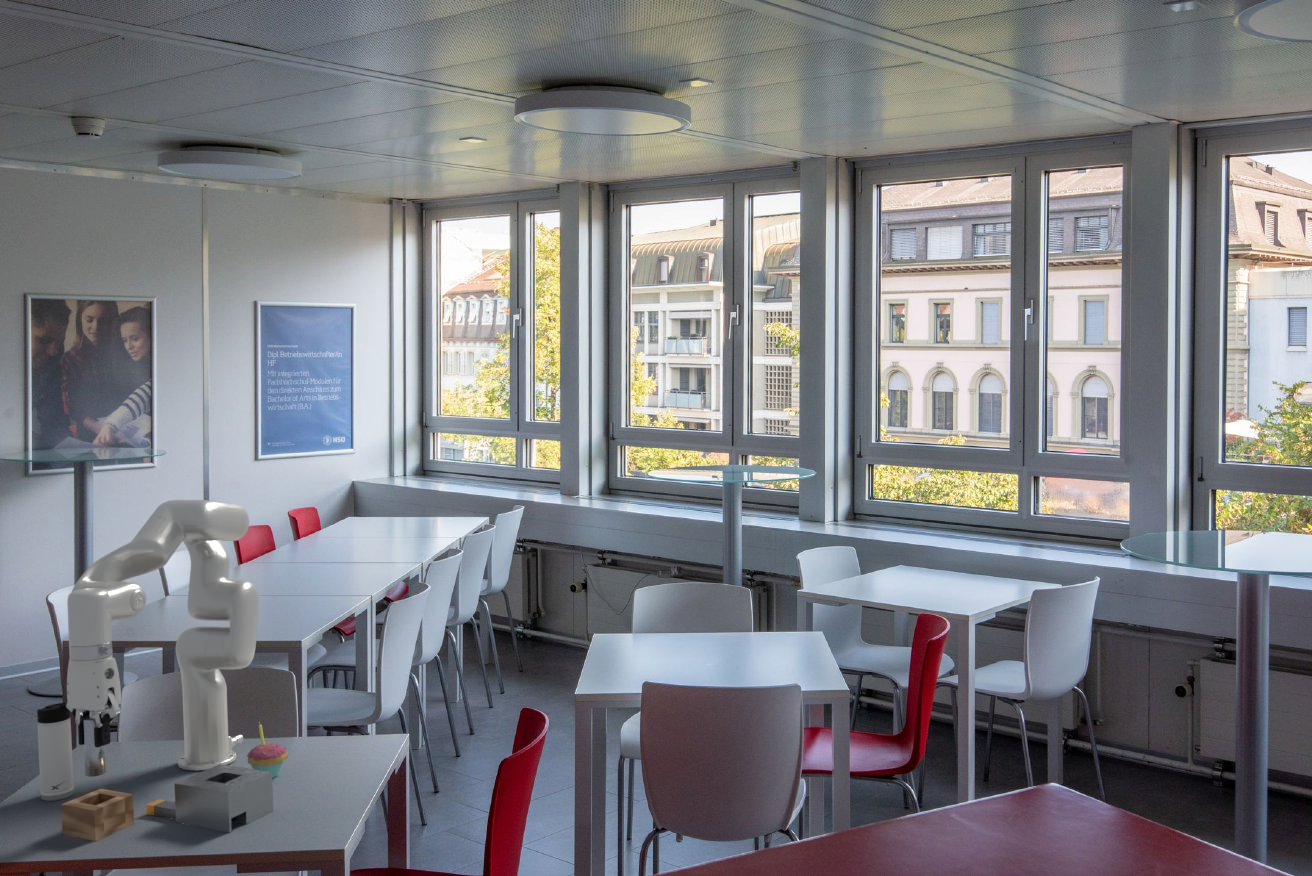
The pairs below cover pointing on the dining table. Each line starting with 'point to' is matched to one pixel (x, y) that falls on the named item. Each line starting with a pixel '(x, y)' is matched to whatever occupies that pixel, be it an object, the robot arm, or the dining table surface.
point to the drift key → (162, 808)
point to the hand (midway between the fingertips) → (94, 743)
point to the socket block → (223, 797)
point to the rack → (97, 814)
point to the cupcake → (267, 756)
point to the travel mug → (55, 752)
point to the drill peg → (93, 750)
